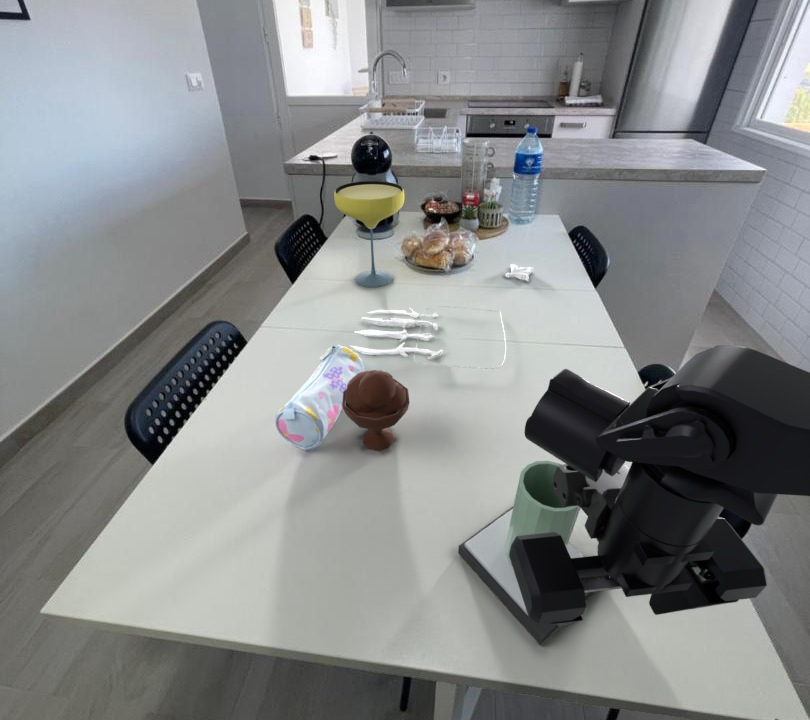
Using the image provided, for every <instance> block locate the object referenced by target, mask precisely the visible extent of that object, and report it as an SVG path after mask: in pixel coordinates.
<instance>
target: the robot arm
mask: <svg viewBox="0 0 810 720" xmlns="http://www.w3.org/2000/svg"><path fill="white" fill-rule="evenodd" d="M524 437H525V439H526V440H528V441H529V442H531V443H533V445H535V446H537V447H539V448H540V449H542V450H544V451H545V452H547V453H548V454H549V455H551V456H553V457H554V458H556V459H557V460H560V462H562V463H564V464H562V465H558V466H557V469H556V471H555V474H554V476H553V490H554V494H555V495H556V496H557V498H558V499H559V500H560V502H561V503H562V504H563V505H564V506H565V507H570V506H579V507H580V510H582V511H583V513H584V514H585V516H586V517H587V518H586V520H585V523H584V528H585V530H586V533H587V535H588V536H589V538H590V539H591V540H593V539H596V541H597V543H598V544H597V555H589V556H584V557H579V558H571V557H570V555H569V553H568V550H567V548H566V546H565V544H564V541H563V539H562V537H561V535H559V534H557V533H555V532H551V533H541V534H532V535H522V536H516V537H515V539H514V541H513V543H512V544H511V548H510V553H509V557H510V560H511V563H512V566H513V569H514V573H515V576H516V579H517V582H518V585H519V588H520V591H521V595H522V598H523V601H524V604H525V607H526V610H527V613H528V617H529V618H530V619H532V620H533V621H535V622H536V623H537V624H544V623H547V624H550V625H554V624H557V626H558V627H559V628H561V627H565V626H569V625H573V624H576V623H580V622H583V621H584V618H583V616H582V615H584V614H585V611H586V610H587V600H586V599H585V593H586V592H594V593H596V592H604V591H611V590H619V589H620V590H622V592H623V594H624V596H625V597H626V598H630V597H637V596H638V597H639V596H647V595H650V597H649V600H648V604H649V608H650V609H651V610H652V613H653V614H654V615H655V616H658V615H664V614H669V613H677V612H682V611H689V610H695V609H696V610H697V609H700V608H708V607H712V606H719V605H725V604H732V603H737V602H739V601H740V600H748V599H756V598H757V597H758V596H759V595H760V594H761V593H762V592H763V590H764V589H765V588H767V586H768V582H767V581H768V580H767V579H768V578H767V574H766V569H765V566H764V565H763V564H762V563H761V561H760V560H759V559H758V558H757V557H756V556H755V554H754V553H753V552H752V550H751V549H750V548H749V546H748V545H747V544H746V542H744V540H743V539H742V538H741V537H740V535H739V534H738V533H737V532H736V530H735V529H734V528H733V526H732V525H731V524H730V523H729V522H728V521H727V519H726V518H724V517H721V516H720V515H721V513H722V512H723V510H724V509H725V510H727V511H728V512H731V513H732V514H734V515H735V516H737V517H740V518H741V519H742V520H744V521H746V522H748V523H750V524H751V525H753V526H762V525H764V524H765V522H766V520H767V517H768V516H769V514H770V512H771V509H772V507H773V506H774V503H775V501H776V500H777V497H778V495H780V496H781V495H783V496H784V495H785V496H799V497H800V496H802V497H810V371H807V370H805V369H802V368H801V367H798V366H796V365H792V364H790V363H788V362H785V361H783V360H781V359H778V358H775V357H774V356H771V355H769V354H766V353H763V352H761V351H759V350H756V349H753V348H750V347H747V346H740V345H733V344H718V345H715V346H714V347H711V348H708V349H705V350H702V351H700V352H697V353H696V354H695V355H694V356H692V357H691V358H690V359H689V360H687V361H686V362H685V363H684V364H683V365H682V366H681V367H680V368H679V369H678V371H677V372H675V373H674V374H673V375H672V376H671V377H670V378H669V377H668V378H667V379H664V380H662V381H659V382H656V383H654V384H652V385H649V386H648V387H647V388H645V390H643V391H642V392H641V393H640V394H639V395H638V396H637V397H636V398H635V400H633V401H632V402H631V401H628V400H626V399H624V398H622V397H620V396H618V395H616V394H614V393H612V392H610V391H608V390H606V389H604V388H602V387H599V386H597V385H595V384H593V383H591V382H589V381H588V380H587V379H585V377H582V376H581V375H579V373H576V372H574V371H572V370H570V369H567V368H564V369H562V370H560V371H559V372H558V373H557V374H555V375H554V376H553V377H552V378H550V379H549V383H548V387H547V390H546V391H545V392H544V393H543V395H542V396H541V397H540V399H539V400H538V402H537V404H536V406H535V407H534V409H533V411H532V412H531V415H530V416H529V417H528V418H527V420H526V421H525V425H524ZM626 462H627V463H631V465H630V467H628V466H627V465H626V464H625V463H626ZM590 579H591V580H590ZM774 720H780V719H778V718H774Z"/></svg>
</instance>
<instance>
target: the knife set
mask: <svg viewBox="0 0 810 720" xmlns="http://www.w3.org/2000/svg"><path fill="white" fill-rule="evenodd" d="M432 308H434V306H433V307H428V308H426V309H425V311H426V310H431V309H432ZM438 308H450V306H448V305H446V306H445V305H443V306H441V305H439V306H438ZM453 308H455V309H462V307H460V306H453ZM408 309H409V311H411V312H408V311H407V309H404V310H397V309H376V310H371V311H368V312H366V313H365V314H366V315H372V314H373V315H374V314H375V315H376V314H387V315H401V316H409V317H411V318H397V317H391V318H387V320H385V319H384V318H377V317H375V318H374V317H365V316H364V317H361V320H362V322H364V323H365V324H368V325H372V326H376V327H377V326H378V327H388V328H389V327H391V328H402V331H401V330H400V331H386V330H379V329H378V330H377V329H364V330H358V331H357V330H356V331H353V333H355V334H358V335H361V336H364V337H369V338H391V339H397V340H398V341H399V343H400V344H399V346H398V347H396V348H391V349H377V348H368V347H362V346H361V347H360V346H355V345H350V347H351V348H352V349H353V350H354V351H355V352H357V353H359V354H363V355H368V356H369V355H370V356H381V355H400V356H401V357H404V358H407V359H408V358H409V353H410V354H414V356H413V358H415V357H416V354H420V355H424V356H425V355H428V356H427V360H434V359H437V358H438V357H441V355H442V354H443V349H440V350H437V351H434V350H430V349H428V348H427V349H426V348H418V343H419V340H421V341H426V342H430V340H433V339H436V337H435V336H434V335H432V334H431V333H430V332H426V333H421V329H422V327H425V328H433V330H435V331H436V332H438V324H437V323H435V322H434V323H432V322H431V321H428V320H417V319H418V318H432V319H436V318H438V313H437V312H434V313H432V314H424V313H425V311H423V313H419V312H416V311H415V310H413V308H411V307H408ZM464 309H465V310H466V309H467V310H473V308H472V307H471V308H469V307H464ZM474 310H477V311H483V309H481V308H474ZM485 311H486V312H492V310H491V309H484V312H485ZM493 312H494V313H495V312H496V313H499V315H500V321H501V326H502V332H503V337H504V345H505V346H504V348H505V349H504V350H505V351H504V359H503V361H502V363H501V365H499V366H498V367H497V369H499V368H501V367H502V366H503V364H504V362H505V359H506V356H507V355H506V354H507V341H506V332H505V329H504V323H503V318H502V312H501V311H499V310H493ZM413 318H414V319H415V320H414V319H413ZM414 327H419V331H418V333H408V331H407V328H414ZM409 338H410V339H413V340H417V342H416V344H415V345H416V346H415V347H405V346H406V340H407V339H409ZM413 360H414V363H417V364H420V365H423V366H424V365H425V366H435V364H434V363H423V362H418V361H416V360H415V359H413ZM437 366H439V367H449V368H450V367H453V368H463V365H462V366H461V365H459V366H458V365H448V364H436V367H437ZM464 368H467V369H480V366H479V367H478V366H477V367H475V366H464ZM481 369H483V370H486V369H489V370H490V369H494V370H495V367H481Z"/></svg>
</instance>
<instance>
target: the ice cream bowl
mask: <svg viewBox="0 0 810 720" xmlns="http://www.w3.org/2000/svg"><path fill="white" fill-rule="evenodd" d="M409 395H410V393H409V388H408V387H406V386H405V385H404V384H402V383H401V382H399V381H398V380H397V379H396V378H394V376H393V375H392V374H391V373H390V372H388V371H383V370H381V369H378V370H377V369H372V370H364V371H363V372H360V373H358V374H357V375H355V376H354V377H353V378H352V379H351V380H350V381H349V382H348V384H347V389H346V390H345V391H344V392H343V401H342V407H343V409H342V410H343V412H344V413H345V416H347V418H349V419H350V420H351V421H352V422H353V423H354V424H355V425H356V426H357V427H359V428H361V429H365V430H366V431H364V433H363V435H362V444H363V445H364V446H365V447H366V448H367V449H368V450H371V451H376V452H380V451H383V450H387V449H389V448H390V447H391V446H392V445H393V443H394V442H395V440H394V433H393V432H392V430H391V429H389V428H392V427H394V426H396V425H397V423H398V422H399V421H400V420H401V419H403V417H404V416H405V415H406V413H407V412H408V410H409V407H410V396H409Z"/></svg>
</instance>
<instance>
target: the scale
mask: <svg viewBox="0 0 810 720" xmlns="http://www.w3.org/2000/svg"><path fill="white" fill-rule="evenodd" d="M513 506H514V505H513ZM513 506H511V507H510V508H508V509H507V510H505V511H504V512H503V513H502V514H500V515H499V516H497V517H496V518H494V519H492V520H491V522H488V523H487V524H486V525H485V526H483V527H482V528H480V529H479V530H478V531H477V532H476V533H474V534H473V535H471V536H469V538H467V539H466V540H464V541H463V542H461V543H460V544H459V545H458V549H457V554H458V555H459V556H460V557H461V558H462V559H463V560H464V562H465V563H466V564H467V565H468V566H469V567H470V568H471V569H472V570H473V572H474V573H475V574H476V575H477V576H478V577H479V578H480V580H481V581H482V582H483V583H484V584H485V585H486V586H487V587H488V589H489V590H490V591H491V592H492V593H493V594H494V596H496V598H497V599H498V600H499V601H500V602H501V603H502V604H503V605H504V607H506V609H507V610H508V611H509V612H510V613H511V615H513V617H514V618H515V619H516V620H517V621H518V622H519V623H520V624H521V626H522V627H523V628H524V629H525V630H526V631H527V633H528V634H529V635H530V636H531V637H532V638H533V639H534V640H535V642H536V643H537V644H538V645H540V646H542V645H543V644H544V643H545V641H547V640H548V639H549V638H550V637H551V636H552V635H553V634H554V633H555V632H556V631H557V630H558V629H559V628H560V627H558V626H557V624H554V625H550V624H547V623H544V624H537V623H536V622H535V621H533V620H532V619H530V618H529V617H528V613H527V610H526V607H525V604H524V601H523V598H522V595H521V591H520V588H519V585H518V582H517V579H516V576H515V573H514V569H513V567H512V566H511V564H510V563H509V561H508V559H507V557H506V554H505V543H506V539H507V534H508V529H509V525H510V520H511V515H512V511H513ZM566 548H567V550H568V553H569V555H570V557H571V558H579V557H585V555H584V554H582V552H580V551H579V550H578V549H577V548H576V547H575V546H573V544H571V543H570V541H569V542H568V545H567V547H566ZM590 580H591V579H590ZM594 594H595V592H586V593H585V599H586V601H587V600H589V599H590V597H592V596H593V595H594Z"/></svg>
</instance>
